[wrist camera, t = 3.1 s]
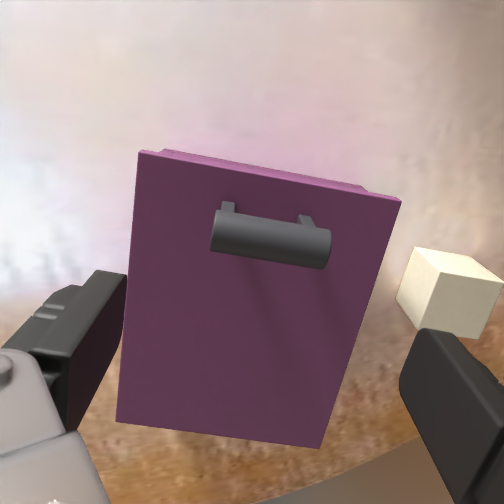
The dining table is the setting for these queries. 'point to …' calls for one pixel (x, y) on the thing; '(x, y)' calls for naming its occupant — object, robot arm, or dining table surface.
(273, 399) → the purple box lid
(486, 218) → the dining table surface
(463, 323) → the block
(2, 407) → the robot arm
